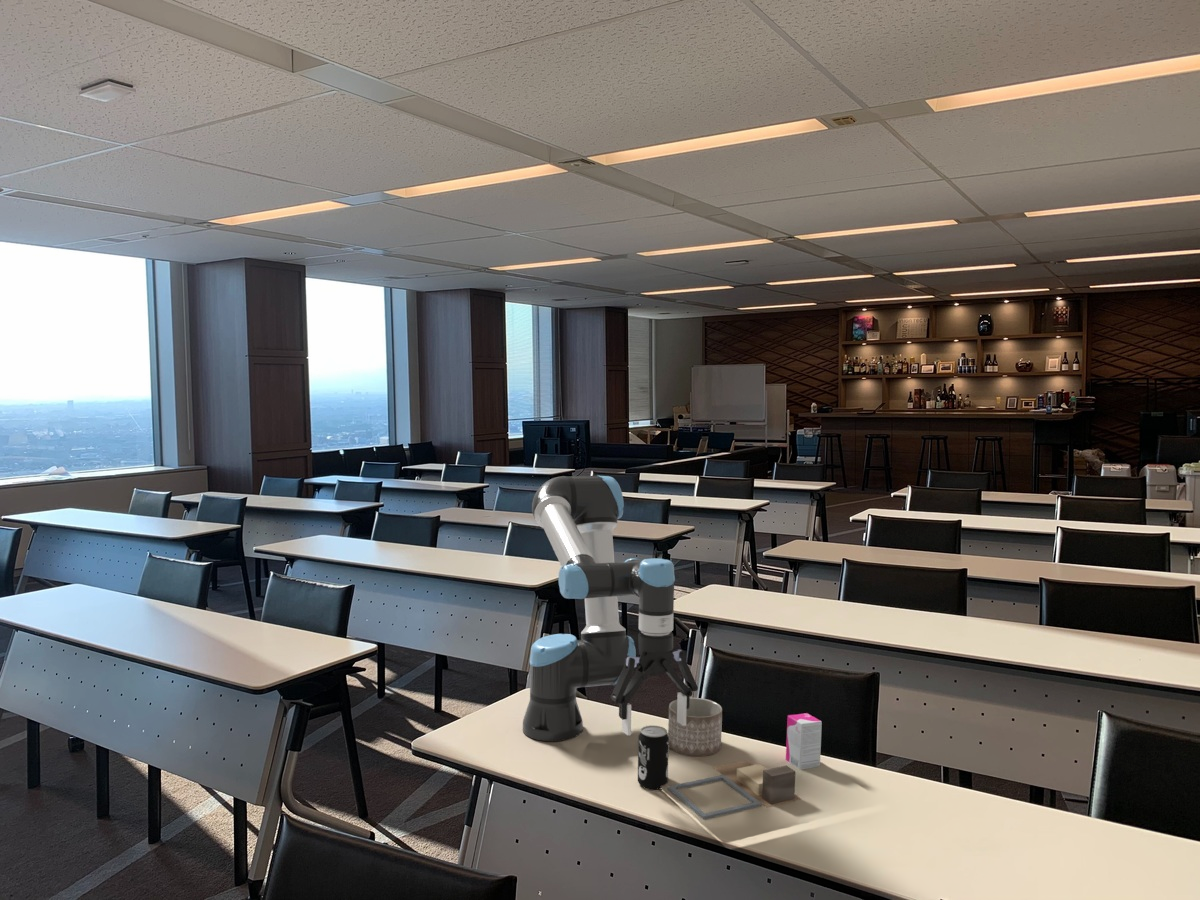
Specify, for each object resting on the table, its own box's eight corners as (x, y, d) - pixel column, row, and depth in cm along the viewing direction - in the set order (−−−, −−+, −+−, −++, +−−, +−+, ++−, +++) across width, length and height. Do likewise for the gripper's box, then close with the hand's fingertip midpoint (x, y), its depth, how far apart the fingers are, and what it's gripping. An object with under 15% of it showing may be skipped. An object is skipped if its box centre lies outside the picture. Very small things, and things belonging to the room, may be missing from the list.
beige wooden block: (736, 779, 183) (736, 768, 183) (759, 774, 186) (759, 763, 186) (758, 795, 176) (758, 784, 176) (781, 790, 179) (781, 779, 178)
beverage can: (665, 792, 179) (666, 738, 178) (635, 789, 180) (636, 735, 179) (669, 779, 185) (670, 726, 184) (640, 775, 186) (641, 723, 186)
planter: (723, 742, 206) (724, 700, 205) (717, 763, 193) (719, 719, 193) (672, 736, 209) (673, 695, 208) (663, 756, 197) (664, 713, 196)
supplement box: (821, 770, 191) (822, 721, 190) (799, 774, 189) (800, 724, 188) (805, 759, 196) (807, 711, 196) (784, 763, 194) (785, 715, 193)
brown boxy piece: (712, 771, 189) (713, 741, 189) (745, 764, 193) (746, 735, 193) (766, 811, 171) (767, 778, 171) (801, 803, 175) (802, 770, 175)
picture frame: (668, 793, 179) (668, 786, 178) (723, 781, 184) (723, 774, 184) (703, 824, 166) (703, 816, 166) (761, 810, 172) (761, 803, 172)
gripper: (611, 642, 172) (610, 743, 173) (714, 629, 182) (712, 725, 183) (596, 633, 178) (595, 730, 180) (696, 621, 189) (694, 714, 190)
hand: (654, 728), depth 181 cm, fingers open, 13 cm apart
